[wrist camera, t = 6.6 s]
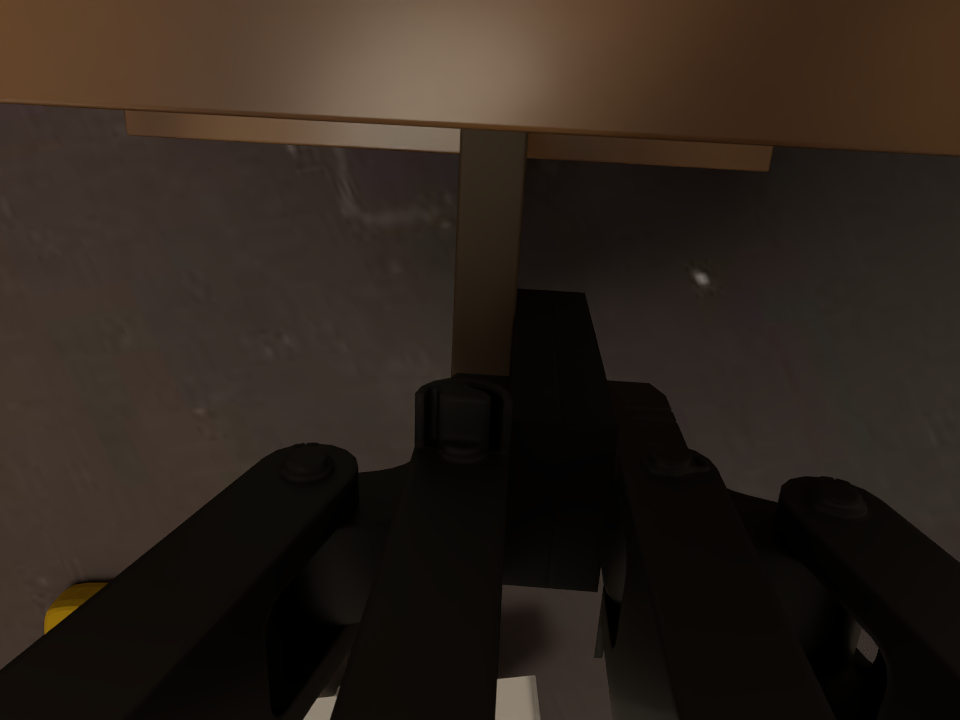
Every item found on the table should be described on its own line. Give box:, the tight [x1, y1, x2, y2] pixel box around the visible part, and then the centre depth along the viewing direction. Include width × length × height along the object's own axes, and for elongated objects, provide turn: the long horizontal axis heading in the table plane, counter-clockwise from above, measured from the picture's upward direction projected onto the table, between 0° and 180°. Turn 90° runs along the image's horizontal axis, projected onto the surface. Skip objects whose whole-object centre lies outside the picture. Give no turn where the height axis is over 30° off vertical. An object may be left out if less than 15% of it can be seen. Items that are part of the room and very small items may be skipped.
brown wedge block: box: [451, 129, 528, 377], centre depth 16 cm, size 7×10×10 cm
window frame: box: [0, 0, 960, 172], centre depth 14 cm, size 18×6×14 cm, turn 87°
